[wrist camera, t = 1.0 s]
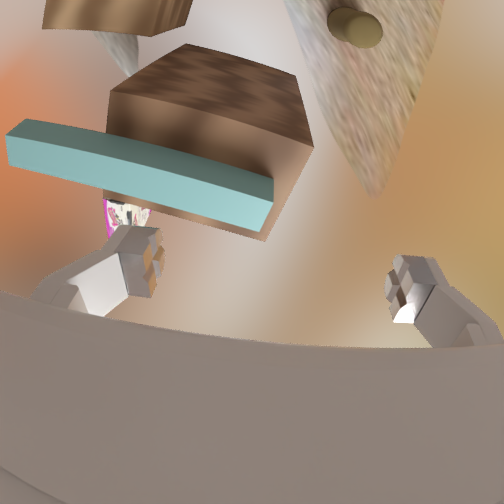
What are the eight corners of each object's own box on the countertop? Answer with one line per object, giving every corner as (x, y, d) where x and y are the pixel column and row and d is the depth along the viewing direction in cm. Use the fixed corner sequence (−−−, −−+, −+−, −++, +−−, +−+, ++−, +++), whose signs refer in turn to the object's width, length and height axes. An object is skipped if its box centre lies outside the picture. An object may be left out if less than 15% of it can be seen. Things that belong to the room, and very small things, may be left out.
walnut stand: (169, 107, 48) (103, 196, 30) (186, 43, 39) (110, 90, 21) (269, 136, 51) (265, 241, 33) (295, 75, 43) (314, 147, 25)
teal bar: (27, 147, 25) (9, 165, 22) (25, 118, 22) (5, 135, 20) (260, 207, 30) (259, 232, 27) (273, 179, 27) (273, 202, 25)
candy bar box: (137, 145, 53) (101, 197, 42) (162, 149, 54) (130, 203, 43) (137, 191, 61) (107, 247, 50) (159, 195, 62) (133, 253, 51)
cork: (347, -1, 32) (367, 0, 25) (373, 28, 35) (398, 37, 27) (318, 21, 36) (331, 26, 28) (345, 49, 38) (364, 62, 31)
